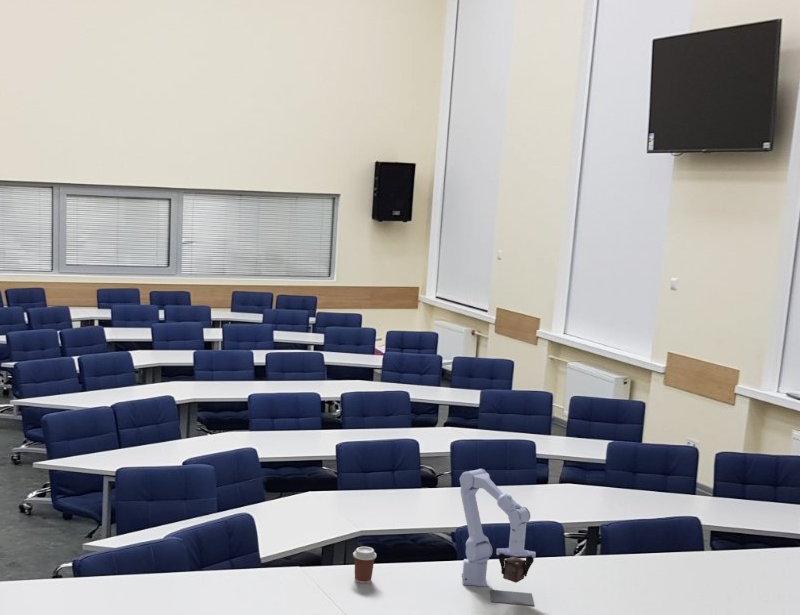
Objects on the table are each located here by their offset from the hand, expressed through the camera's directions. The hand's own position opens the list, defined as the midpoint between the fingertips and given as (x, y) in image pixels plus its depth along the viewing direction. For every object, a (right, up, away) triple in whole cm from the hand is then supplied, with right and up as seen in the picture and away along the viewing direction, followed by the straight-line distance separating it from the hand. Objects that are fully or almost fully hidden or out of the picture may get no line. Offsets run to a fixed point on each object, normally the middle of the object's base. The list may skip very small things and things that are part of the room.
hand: (513, 574), depth 363 cm
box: (0, -2, 0) cm, 2 cm away
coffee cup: (-57, -4, +8) cm, 58 cm away
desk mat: (-1, -9, +1) cm, 9 cm away
